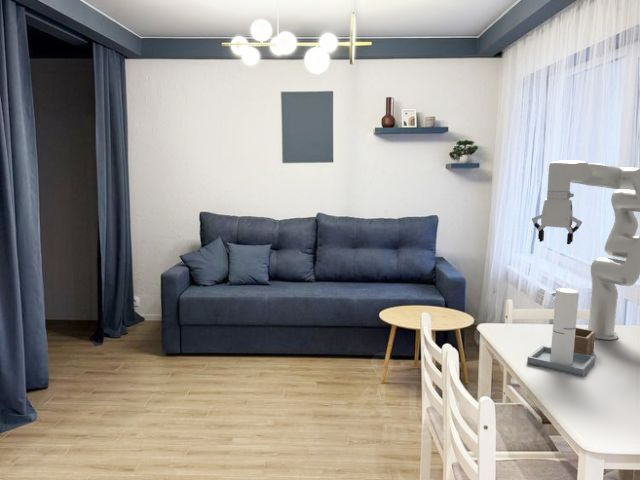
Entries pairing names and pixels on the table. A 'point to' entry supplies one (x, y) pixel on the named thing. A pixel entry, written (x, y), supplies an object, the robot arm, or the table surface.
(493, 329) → the table surface
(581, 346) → the walnut box
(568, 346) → the cylindrical container
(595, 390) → the table surface
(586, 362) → the slate tray
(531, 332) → the table surface
